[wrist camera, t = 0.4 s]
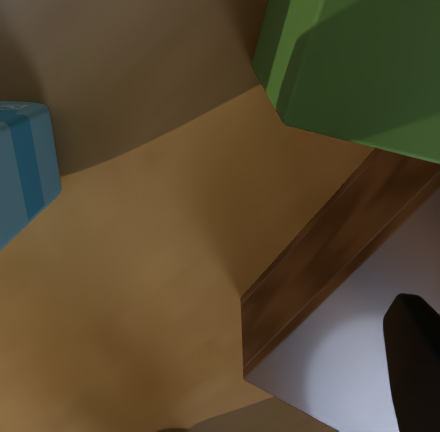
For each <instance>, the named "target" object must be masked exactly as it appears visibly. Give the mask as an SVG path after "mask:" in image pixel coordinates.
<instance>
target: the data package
mask: <svg viewBox="0 0 440 432" xmlns="http://www.w3.org/2000/svg"><path fill="white" fill-rule="evenodd" d="M61 189H62V187H61V181H60V174H59V168H58V162H57V155H56V149H55V142H54V136H53V129H52V123H51V116H50V110H49V108H48V107H47V106H46V105H44V104H41V103H36V102H21V101H0V250H1V249H2V248H3V247H4V246H5V245H7V244H8V243H9V242H10V241H11V240H12V239H13V238H14V237H15V236H16V235H17V234H18V233H19V232H20V231H21V230H22V229H23V228H24V227H26V226H27V225H28V224H29V223H30V222H31V221H32V220H33V219H34V218H35V217H36V216H37V215H38V214H39V213H40V212H41V211H42V210H43V209H45V208H46V207H47V206H48V205H49V204H50V203H51V202H52V201H53V200H54V199H55V198H56V197H57V196H58V195H59V194H60V192H61Z"/></svg>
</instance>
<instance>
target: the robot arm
mask: <svg viewBox="0 0 440 432" xmlns="http://www.w3.org/2000/svg"><path fill="white" fill-rule="evenodd" d="M383 335H384V343H385V351H386V359H387V367H388V375H389V384H390V390H391V397H392V402H393V406H394V411H395V415H396V419H397V424H398V428H399V432H440V315H439V314H438V313H437V312H436V311H435V310H434V309H433V308H432V307H431V306H430V305H429V304H428V303H427V302H426V301H425V300H424V299H423V298H422V297H421V296H419V295H415V294H406V293H400V294H398V295H397V296H396V297H395V299H394V300H393V302H392V304H391V305H390V307H389V309H388V310H387V312H386V314H385V315H384V318H383Z"/></svg>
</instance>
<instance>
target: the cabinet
mask: <svg viewBox="0 0 440 432" xmlns="http://www.w3.org/2000/svg"><path fill="white" fill-rule="evenodd" d="M400 293H406V294H415V295H419V296H421V297H422V298H423V299H424V300H425V301H426V302H427V303H428V304H429V305H430V306H431V307H432V308H433V309H434V310H435V311H436V312H437V313H438V314H439V315H440V164H437V163H433V162H430V161H426V160H422V159H418V158H414V157H410V156H406V155H402V154H398V153H394V152H390V151H386V150H382V149H378V148H376V149H375V150H374V151H373V152H372V153H371V154H370V155H369V156H368V158H367V159H366V160H365V161H364V162H363V163H362V164H361V165H360V166H359V168H358V169H357V170H356V171H355V172H354V173H353V174H352V175H351V176H350V178H349V179H348V180H347V181H346V182H345V183H344V184H343V185H342V186H341V188H340V189H339V190H338V191H337V192H336V193H335V194H334V195H333V196H332V197H331V199H330V200H329V201H328V202H327V203H326V204H325V205H324V206H323V207H322V209H321V210H320V211H319V212H318V213H317V214H316V215H315V216H314V217H313V219H312V220H311V221H310V222H309V223H308V224H307V225H306V226H305V227H304V229H303V230H302V231H301V232H300V233H299V234H298V235H297V236H296V237H295V239H294V240H293V241H292V242H291V243H290V244H289V245H288V246H287V247H286V249H285V250H284V251H283V252H282V253H281V254H280V255H279V256H278V257H277V258H276V260H275V261H274V262H273V263H272V264H271V265H270V266H269V267H268V268H267V270H266V271H265V272H264V273H263V274H262V275H261V276H260V277H259V278H258V280H257V281H256V282H255V283H254V284H253V285H252V286H251V287H250V288H249V290H248V291H247V292H246V293H245V294H244V295H243V296H242V297H241V319H242V349H243V379H244V380H246V381H247V382H249V383H251V384H253V385H255V386H257V387H258V388H260V389H262V390H264V391H266V392H268V393H269V394H271V395H273V396H275V397H277V398H279V399H280V400H282V401H284V402H286V403H288V404H290V405H291V406H293V407H295V408H297V409H299V410H301V411H302V412H304V413H306V414H308V415H310V416H312V417H313V418H315V419H317V420H319V421H321V422H323V423H324V424H326V425H328V426H330V427H332V428H334V429H335V430H337V431H339V432H399V428H398V424H397V419H396V415H395V411H394V406H393V402H392V397H391V390H390V384H389V375H388V367H387V359H386V351H385V343H384V335H383V318H384V315H385V314H386V312H387V310H388V309H389V307H390V305H391V304H392V302H393V300H394V299H395V297H396V296H397V295H398V294H400Z"/></svg>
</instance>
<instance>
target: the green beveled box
mask: <svg viewBox="0 0 440 432" xmlns="http://www.w3.org/2000/svg"><path fill="white" fill-rule="evenodd" d="M252 68H253V70H254V71H255V73H256V75H257V77H258V79H259V80H260V82H261V84H262V86H263V88H264V89H265V91H266V93H267V95H268V97H269V99H270V100H271V102H272V104H273V106H274V108H275V109H276V111H277V113H278V115H279V117H280V118H281V120H282V122H283V123H284V124H285V125H287V126H291V127H295V128H299V129H303V130H307V131H311V132H315V133H319V134H323V135H327V136H331V137H335V138H339V139H343V140H346V141H350V142H354V143H358V144H362V145H366V146H370V147H374V148H378V149H382V150H386V151H390V152H394V153H398V154H402V155H406V156H410V157H414V158H418V159H422V160H426V161H430V162H433V163H437V164H440V0H268V3H267V7H266V11H265V15H264V19H263V23H262V27H261V30H260V34H259V38H258V42H257V46H256V50H255V53H254V57H253V61H252Z"/></svg>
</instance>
